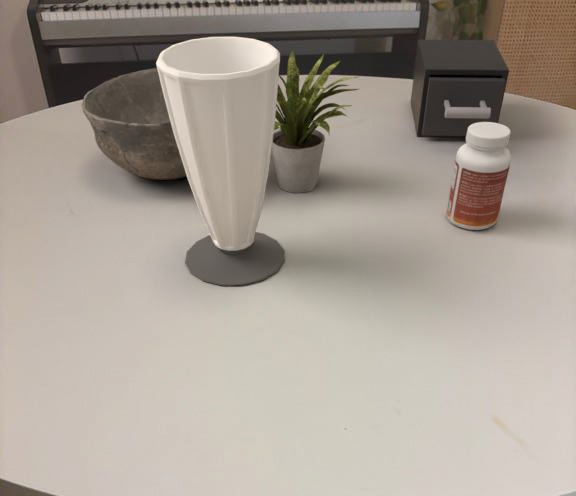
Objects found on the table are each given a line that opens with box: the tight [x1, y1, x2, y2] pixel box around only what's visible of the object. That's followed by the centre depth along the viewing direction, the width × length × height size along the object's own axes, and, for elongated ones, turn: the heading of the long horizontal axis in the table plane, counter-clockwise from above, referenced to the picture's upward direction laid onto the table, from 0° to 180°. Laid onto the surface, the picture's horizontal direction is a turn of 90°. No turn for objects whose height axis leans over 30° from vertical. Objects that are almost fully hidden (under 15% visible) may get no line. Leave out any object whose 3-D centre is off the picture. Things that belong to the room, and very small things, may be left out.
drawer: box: [422, 75, 506, 136], centre depth 95 cm, size 17×10×8 cm, turn 176°
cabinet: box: [410, 39, 510, 138], centre depth 98 cm, size 14×12×10 cm
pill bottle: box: [446, 122, 512, 231], centre depth 75 cm, size 6×6×11 cm
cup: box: [155, 36, 285, 287], centre depth 66 cm, size 12×12×22 cm
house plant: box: [271, 50, 359, 194], centre depth 80 cm, size 14×14×16 cm
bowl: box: [81, 67, 187, 181], centre depth 87 cm, size 21×21×10 cm
